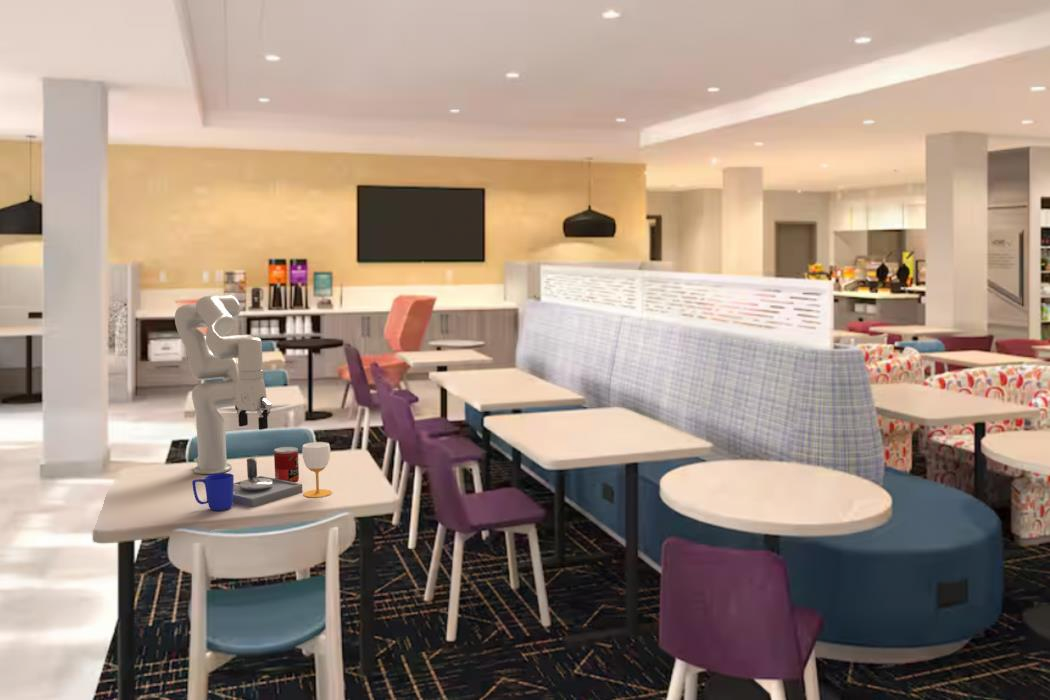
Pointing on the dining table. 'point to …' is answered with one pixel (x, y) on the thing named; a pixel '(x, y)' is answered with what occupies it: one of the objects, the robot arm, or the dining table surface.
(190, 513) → the dining table surface
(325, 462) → the cup
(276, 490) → the tray
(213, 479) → the mug
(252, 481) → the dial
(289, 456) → the canned food
